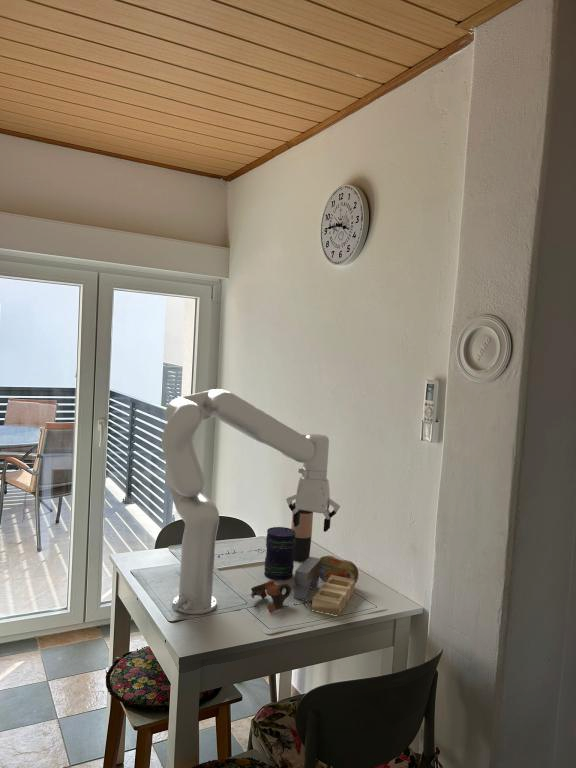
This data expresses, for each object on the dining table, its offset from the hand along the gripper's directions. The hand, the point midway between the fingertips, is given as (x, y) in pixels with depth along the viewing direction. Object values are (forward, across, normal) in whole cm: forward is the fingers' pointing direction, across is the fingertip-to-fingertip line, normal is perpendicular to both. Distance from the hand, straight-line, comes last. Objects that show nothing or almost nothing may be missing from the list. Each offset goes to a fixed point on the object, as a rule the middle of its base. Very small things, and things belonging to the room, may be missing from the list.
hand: (311, 528), depth 184 cm
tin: (+21, +6, +12) cm, 25 cm away
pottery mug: (+21, -7, -14) cm, 26 cm away
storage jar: (+21, -13, +9) cm, 26 cm away
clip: (+21, 0, 0) cm, 21 cm away
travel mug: (+21, -12, +28) cm, 37 cm away
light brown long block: (+21, +10, -2) cm, 23 cm away
